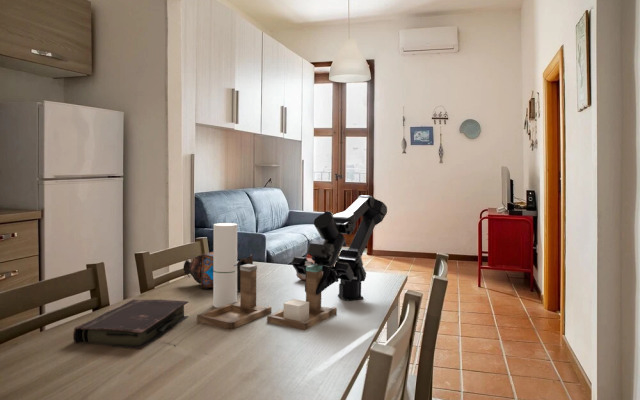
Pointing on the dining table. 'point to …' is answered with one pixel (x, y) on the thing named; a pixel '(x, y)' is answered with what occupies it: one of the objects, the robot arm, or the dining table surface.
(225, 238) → the cylindrical container
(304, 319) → the cube
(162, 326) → the diary
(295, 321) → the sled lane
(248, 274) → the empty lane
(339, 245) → the robot arm
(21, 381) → the dining table surface
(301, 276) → the food item
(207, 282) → the patterned brown vase
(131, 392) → the dining table surface
